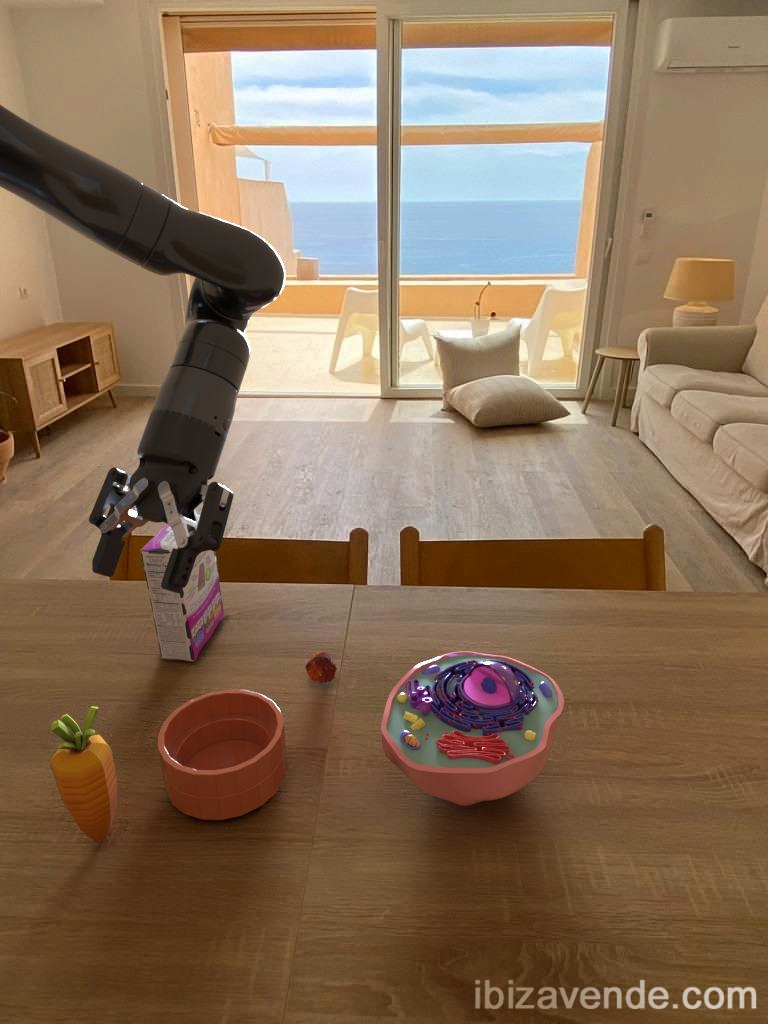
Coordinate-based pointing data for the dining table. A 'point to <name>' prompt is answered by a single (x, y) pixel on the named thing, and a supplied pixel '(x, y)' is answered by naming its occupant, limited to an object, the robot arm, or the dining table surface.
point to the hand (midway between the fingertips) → (135, 582)
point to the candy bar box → (182, 600)
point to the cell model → (471, 725)
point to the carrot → (85, 776)
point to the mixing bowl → (223, 754)
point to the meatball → (321, 668)
